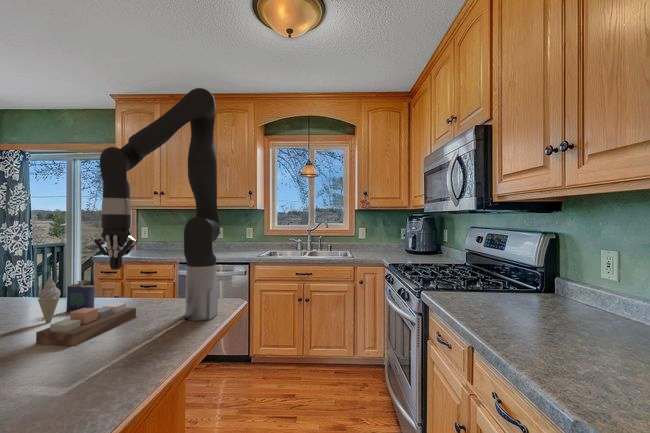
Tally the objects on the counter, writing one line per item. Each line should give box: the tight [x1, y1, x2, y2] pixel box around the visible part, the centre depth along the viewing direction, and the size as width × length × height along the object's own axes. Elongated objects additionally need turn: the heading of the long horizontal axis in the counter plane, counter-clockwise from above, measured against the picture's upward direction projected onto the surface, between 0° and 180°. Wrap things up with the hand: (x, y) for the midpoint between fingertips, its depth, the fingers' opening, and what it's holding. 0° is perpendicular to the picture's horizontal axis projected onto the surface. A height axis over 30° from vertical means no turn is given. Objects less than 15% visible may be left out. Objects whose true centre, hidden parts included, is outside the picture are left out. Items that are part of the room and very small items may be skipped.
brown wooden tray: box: [34, 306, 139, 348], centre depth 87 cm, size 11×23×4 cm, turn 175°
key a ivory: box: [102, 302, 127, 313], centre depth 95 cm, size 4×4×3 cm
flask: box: [65, 280, 96, 313], centre depth 106 cm, size 9×3×11 cm, turn 88°
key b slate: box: [98, 307, 113, 318], centre depth 90 cm, size 4×4×3 cm
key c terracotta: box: [69, 307, 99, 324], centre depth 84 cm, size 4×4×3 cm
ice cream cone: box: [37, 275, 61, 324], centre depth 92 cm, size 5×5×15 cm
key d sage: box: [49, 318, 81, 333], centre depth 79 cm, size 4×4×3 cm
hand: (115, 269), depth 95 cm, fingers closed
